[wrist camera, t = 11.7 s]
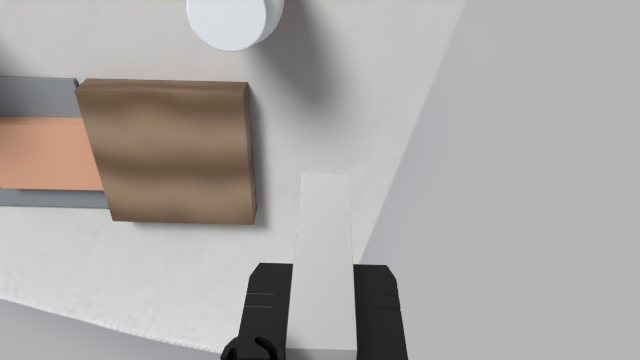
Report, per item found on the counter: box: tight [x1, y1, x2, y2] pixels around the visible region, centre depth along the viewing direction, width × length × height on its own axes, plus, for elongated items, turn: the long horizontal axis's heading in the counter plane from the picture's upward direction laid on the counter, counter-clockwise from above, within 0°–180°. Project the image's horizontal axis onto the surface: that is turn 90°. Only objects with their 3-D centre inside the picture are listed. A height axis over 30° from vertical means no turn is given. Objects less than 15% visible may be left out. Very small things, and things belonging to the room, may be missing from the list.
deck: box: [74, 79, 257, 225], centre depth 45 cm, size 14×14×2 cm
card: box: [0, 117, 104, 190], centre depth 45 cm, size 7×10×2 cm
